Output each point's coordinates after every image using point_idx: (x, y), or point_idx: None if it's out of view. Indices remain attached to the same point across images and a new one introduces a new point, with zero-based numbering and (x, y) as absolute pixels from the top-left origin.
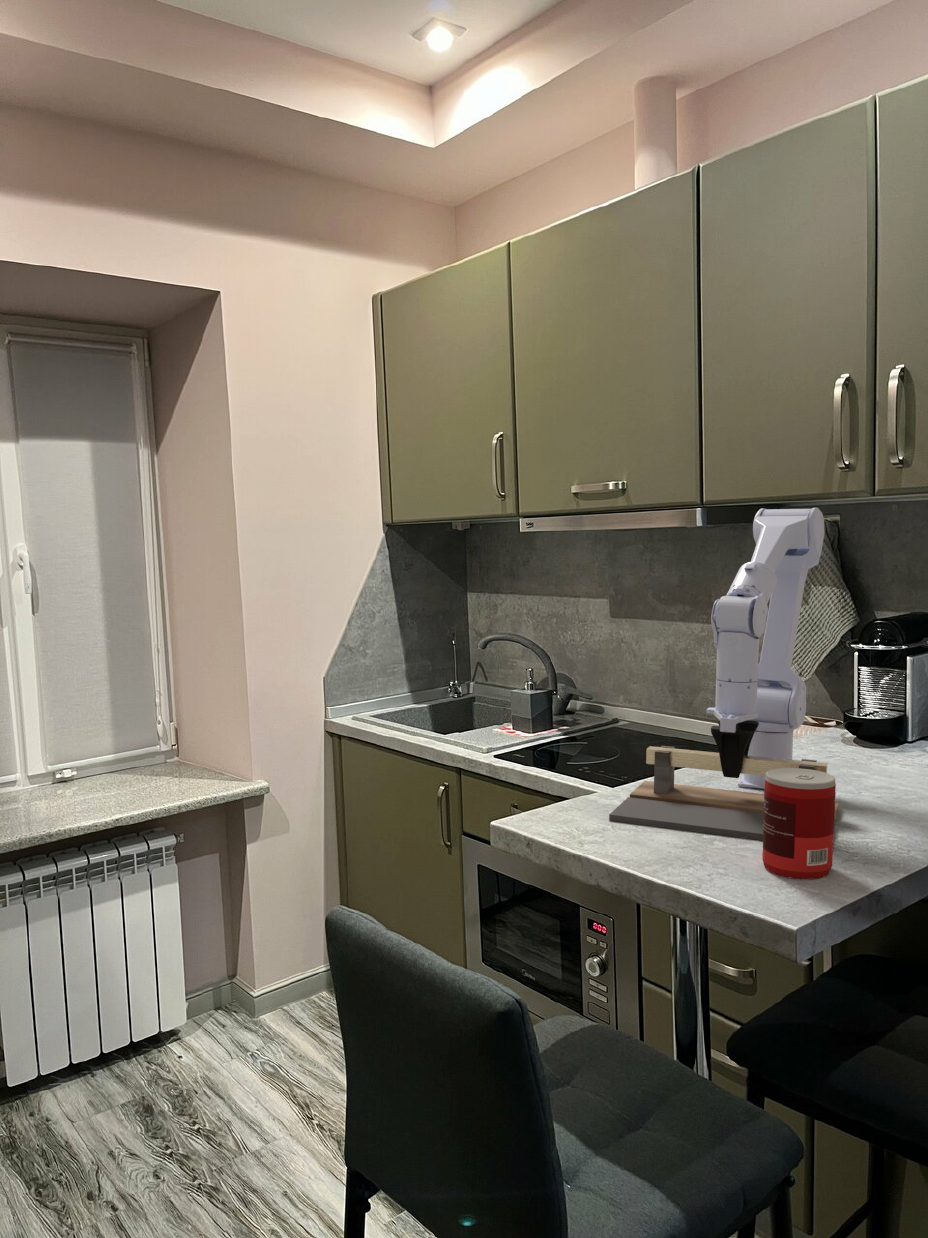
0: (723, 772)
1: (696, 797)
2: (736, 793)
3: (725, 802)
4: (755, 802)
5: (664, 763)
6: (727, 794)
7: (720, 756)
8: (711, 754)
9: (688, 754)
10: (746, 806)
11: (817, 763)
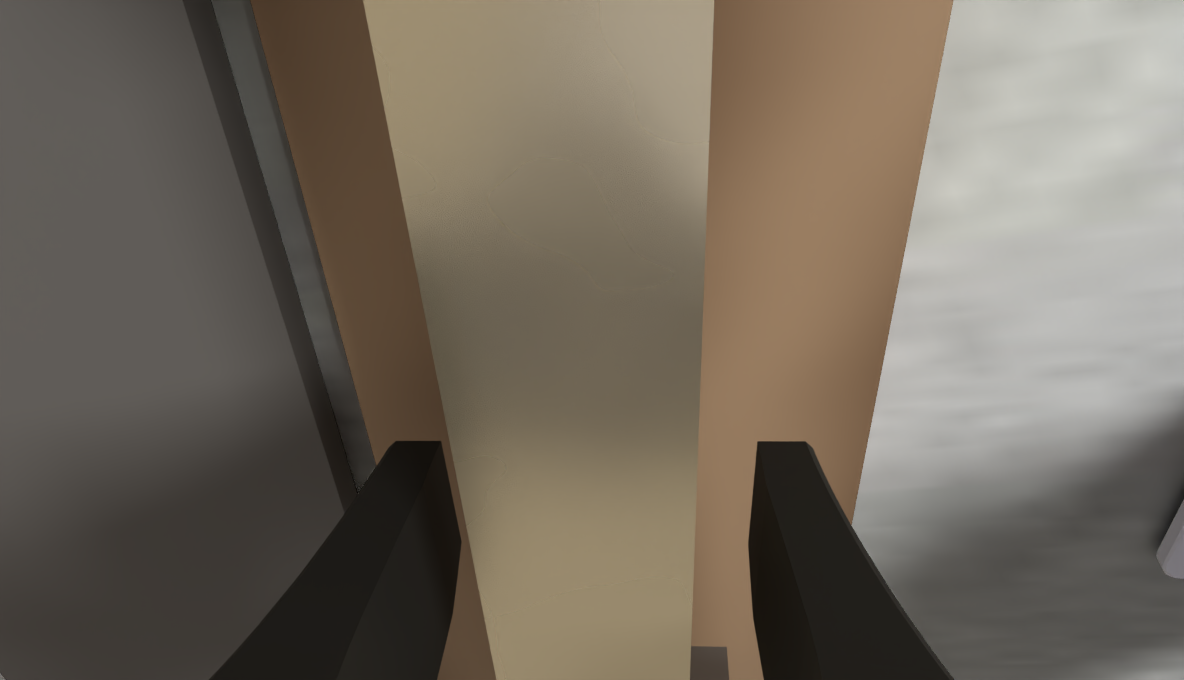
0: (376, 474)
1: None
2: (798, 327)
3: None
4: None
5: None
6: (722, 273)
7: (264, 620)
8: (519, 474)
9: (402, 148)
10: (410, 432)
11: None
